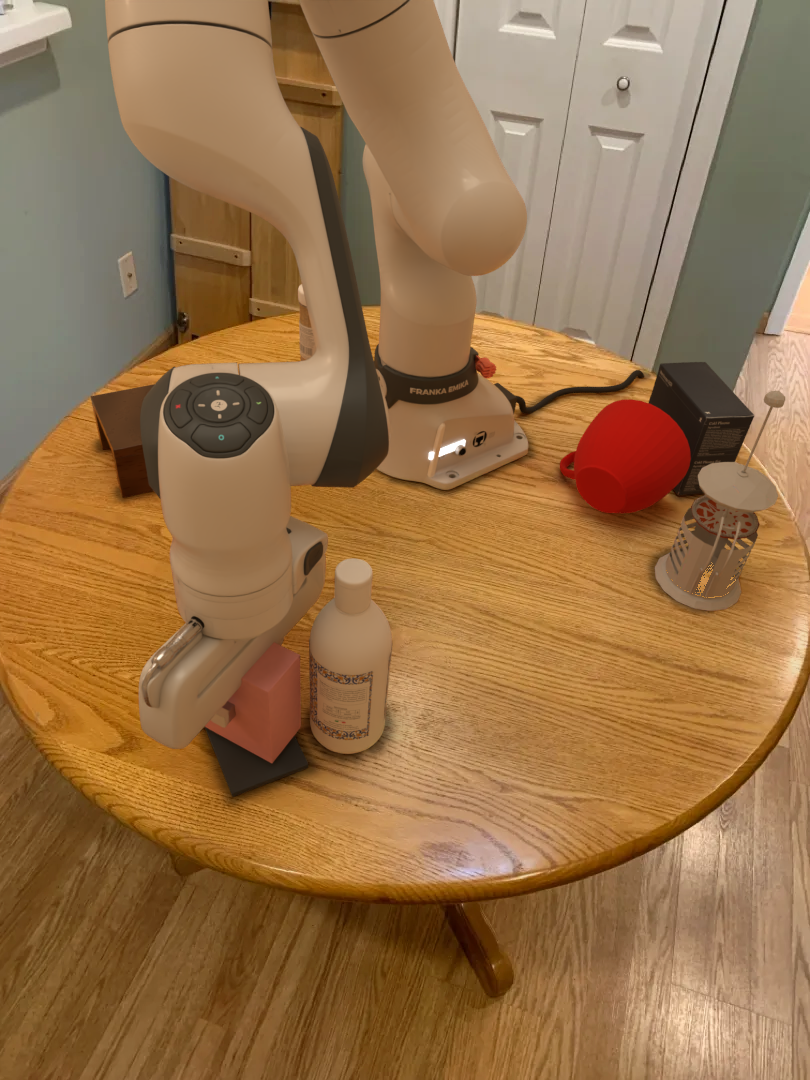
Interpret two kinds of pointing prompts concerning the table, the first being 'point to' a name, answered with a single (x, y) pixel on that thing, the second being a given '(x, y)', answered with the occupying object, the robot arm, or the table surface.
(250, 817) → the table surface
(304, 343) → the sprinkles bottle
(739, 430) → the small box
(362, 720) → the bath foam
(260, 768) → the mat
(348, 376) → the robot arm
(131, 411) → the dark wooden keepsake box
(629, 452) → the ceramic cup
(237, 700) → the block
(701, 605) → the french press
